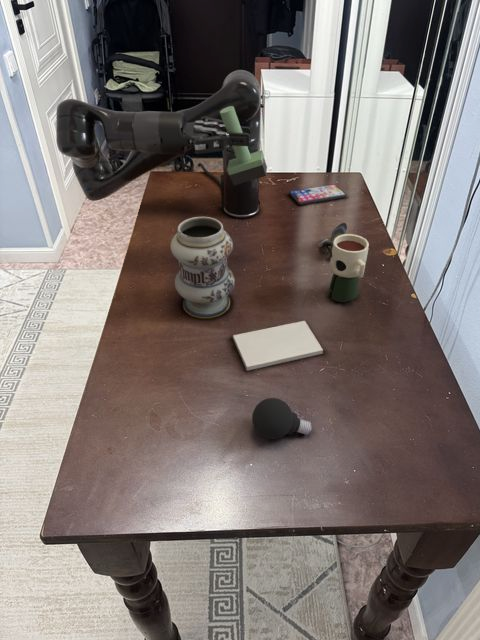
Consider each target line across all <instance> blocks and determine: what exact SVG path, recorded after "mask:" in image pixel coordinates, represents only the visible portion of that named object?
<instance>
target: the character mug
mask: <svg viewBox="0 0 480 640" xmlns="http://www.w3.org/2000/svg"><path fill="white" fill-rule="evenodd" d="M369 247H370V243H369V241H368V240H367V239H366V238H365V237H363V236H361V235H358V234H353V233H345V234H343V235H340V236H337V237H336V238H335V239H334V243H333V248H332V257H331V259H330V260H329V261H330V262H329V267H330V271H331V273H333V274H332V277H331V280H330V283H329V286H328V296H330V295H331V299H333V300H335V301H336V302H342V303H347V302H350V301H353V300H355V299H356V298H358V296H359V278H363V277H364V274H365V269H366V263H367V258H368V253H369ZM330 293H332V294H330Z"/></svg>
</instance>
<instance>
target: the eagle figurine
mask: <svg viewBox="0 0 480 640" xmlns="http://www.w3.org/2000/svg"><path fill="white" fill-rule="evenodd" d="M347 229H348V226H347V222H341V223H339V225H337V226H336V227H335V228H334V229H333V230H332V232H331V236H330V238H325V239H322V240H320V241H319V242H318V244H317V247H318V248H322V247H326V248H327V251H325V254H329V257H328V261H331V258H332V248H333V243H334V239H335V238H336V237H337V236H340V235H343V234H347Z"/></svg>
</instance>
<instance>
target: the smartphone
mask: <svg viewBox="0 0 480 640" xmlns="http://www.w3.org/2000/svg"><path fill="white" fill-rule="evenodd" d="M288 195H289V196H290V197H291V198H292V199H293V200H294V201H295V203H296V204H297V205H299V206H303V205H309V204H314V203H316V204H317V203H321V202H328V201H333V200H338V199H339V200H340V199H344V198H347V194H346V193H345V191H343V190H342V189H341V188H340V187H339V186H338V185H337V184H335V183H331V184H326V185H320V186H319V185H318V186H314V187H306V188H302V189H301V188H300V189H293V190H289V192H288Z"/></svg>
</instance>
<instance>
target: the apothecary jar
mask: <svg viewBox="0 0 480 640" xmlns="http://www.w3.org/2000/svg"><path fill="white" fill-rule="evenodd" d="M224 229H225V228H224V225H223V224H222V222H221V221H220V220H218V219H217V218H214V217H210V216H194V217H189V218H187V219H185V220H183V221H181V222H180V223H179V224H178V226H177V231H176V234H174V236H173V237H172V239H171V242H170V251H171V254H172V255H173V257H174V258H175V259H176V260H177V261H178V266H179V271H178V273H176V276H175V279H174V288H175V290H176V292H177V293H178V295H180V296H181V297H182V298H183V301H182V307H183V310H184V311H185V312H186V314H188V315H189V316H191V317H193V318H197V319H213V318H216V317H220V316H222V315H223V314H225V313H226V312H227V311H228V310H229V309H230V306H231V298H230V296H229V295H230V294H231V293H232V291H233V290H234V288H235V284H236V279H235V276H234V273H233V271H232V270H231V269H230V268H229V267H228V257H230V255H231V254H232V251H233V248H234V241H233V239H232V237H231V235H229V233H228V232H227V231H226V230H224Z"/></svg>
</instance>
